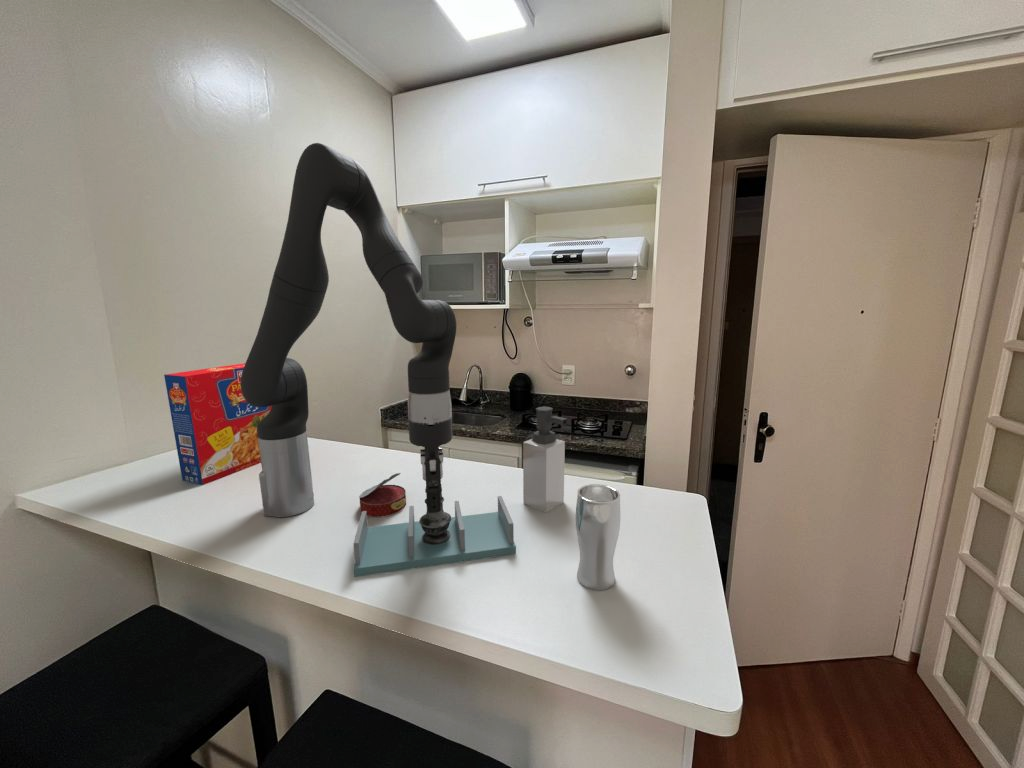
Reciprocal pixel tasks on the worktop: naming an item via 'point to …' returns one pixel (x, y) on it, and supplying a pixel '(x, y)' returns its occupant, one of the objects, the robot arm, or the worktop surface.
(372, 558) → the rack
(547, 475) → the soap dispenser
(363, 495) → the canned food
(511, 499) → the worktop surface
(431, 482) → the grey chess piece
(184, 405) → the pasta box
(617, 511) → the beer glass
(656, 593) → the worktop surface
